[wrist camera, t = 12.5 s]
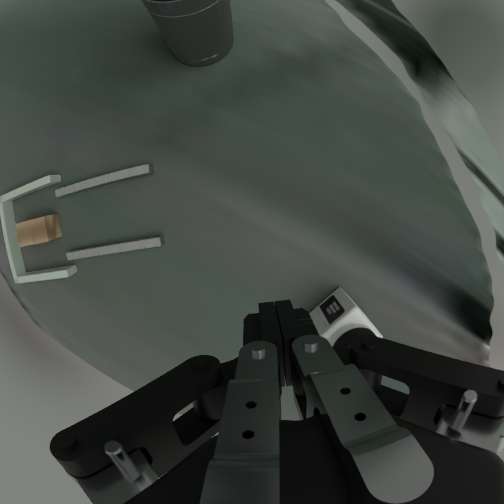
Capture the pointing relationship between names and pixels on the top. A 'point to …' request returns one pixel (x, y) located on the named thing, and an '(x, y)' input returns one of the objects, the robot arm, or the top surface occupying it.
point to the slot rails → (116, 246)
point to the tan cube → (45, 228)
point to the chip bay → (5, 210)
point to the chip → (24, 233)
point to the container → (341, 320)
